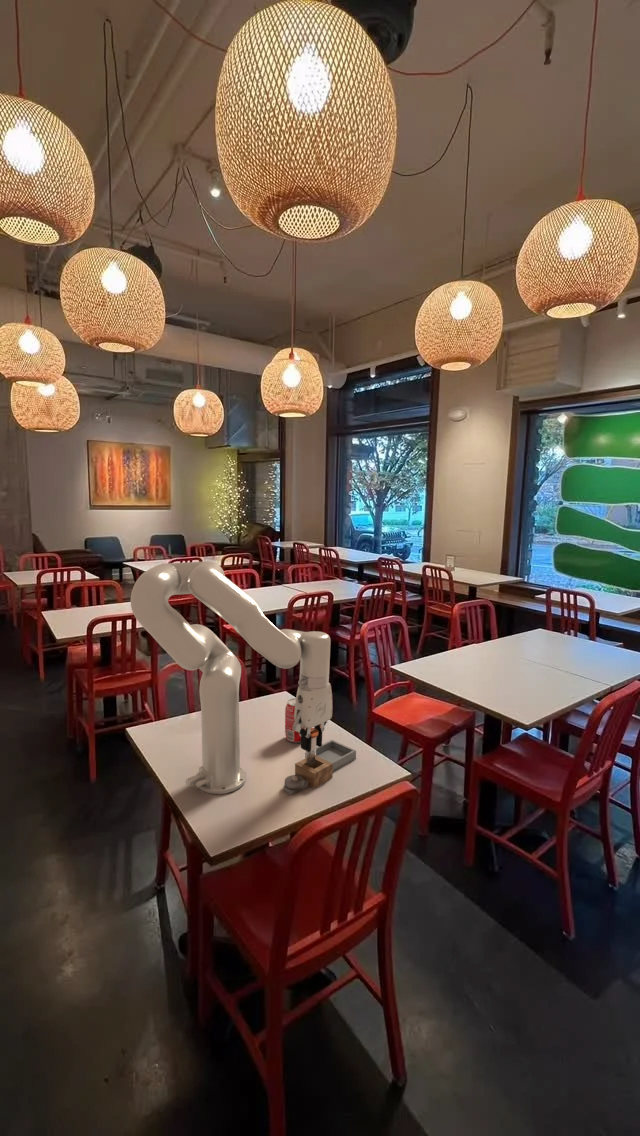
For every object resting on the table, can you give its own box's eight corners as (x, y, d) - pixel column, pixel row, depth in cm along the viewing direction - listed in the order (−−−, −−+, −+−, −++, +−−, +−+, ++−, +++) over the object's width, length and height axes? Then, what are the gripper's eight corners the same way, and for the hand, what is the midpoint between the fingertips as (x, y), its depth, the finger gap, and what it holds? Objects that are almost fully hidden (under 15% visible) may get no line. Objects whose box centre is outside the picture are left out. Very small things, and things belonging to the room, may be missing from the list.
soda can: (309, 734, 159) (309, 697, 157) (306, 745, 152) (306, 707, 150) (287, 733, 159) (287, 696, 158) (283, 743, 153) (283, 705, 151)
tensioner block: (297, 798, 125) (297, 783, 124) (278, 786, 130) (278, 772, 129) (332, 777, 134) (332, 763, 134) (313, 768, 139) (313, 754, 138)
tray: (329, 773, 136) (329, 765, 136) (305, 761, 142) (305, 753, 142) (355, 758, 144) (356, 750, 144) (331, 747, 150) (332, 739, 150)
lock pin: (310, 767, 131) (312, 735, 130) (301, 762, 133) (302, 730, 132) (319, 763, 134) (321, 731, 132) (310, 758, 136) (311, 726, 135)
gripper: (301, 692, 122) (298, 763, 124) (346, 676, 134) (342, 742, 136) (280, 683, 127) (278, 752, 129) (325, 669, 139) (322, 733, 141)
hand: (311, 746), depth 133 cm, fingers closed on lock pin, 3 cm apart
